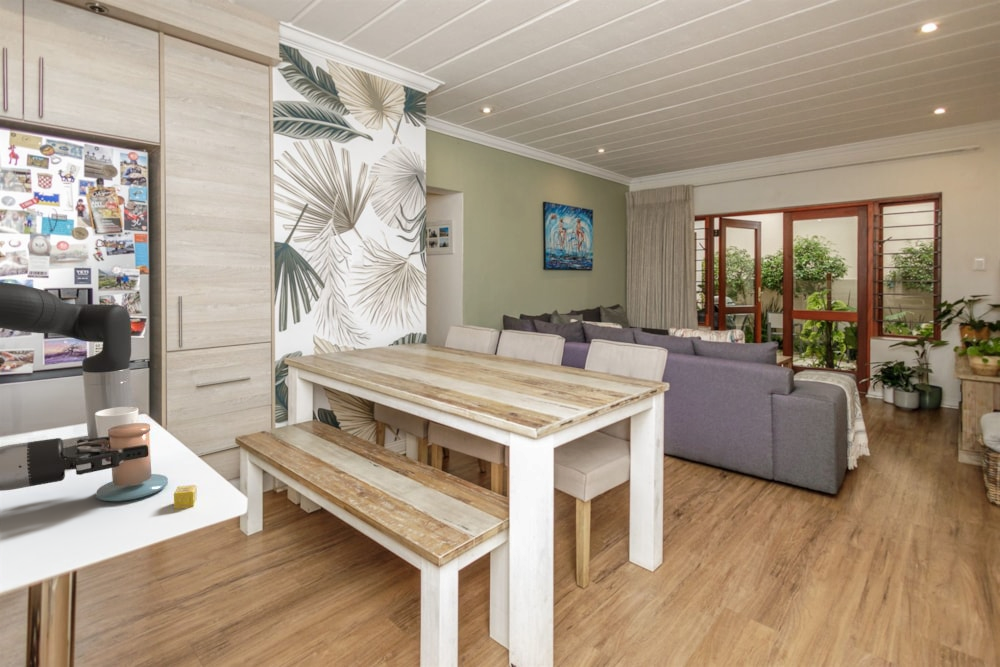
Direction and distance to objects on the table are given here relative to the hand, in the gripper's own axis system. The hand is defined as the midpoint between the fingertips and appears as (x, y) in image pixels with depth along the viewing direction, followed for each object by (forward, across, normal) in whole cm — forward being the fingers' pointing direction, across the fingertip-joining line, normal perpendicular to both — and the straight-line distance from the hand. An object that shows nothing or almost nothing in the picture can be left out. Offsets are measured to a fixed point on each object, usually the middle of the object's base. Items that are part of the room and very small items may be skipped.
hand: (146, 445), depth 97 cm
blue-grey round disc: (-2, 0, +8) cm, 9 cm away
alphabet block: (+5, -12, +9) cm, 16 cm away
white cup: (-3, +26, +9) cm, 28 cm away
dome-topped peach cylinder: (-2, 0, +6) cm, 7 cm away
